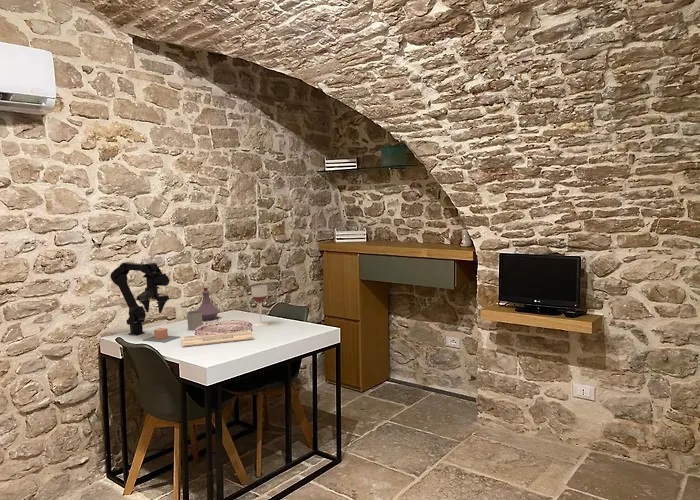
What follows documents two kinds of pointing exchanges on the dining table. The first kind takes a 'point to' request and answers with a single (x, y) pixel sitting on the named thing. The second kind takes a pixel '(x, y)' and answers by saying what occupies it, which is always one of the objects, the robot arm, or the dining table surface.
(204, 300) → the flask
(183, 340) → the wooden board
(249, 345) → the dining table surface
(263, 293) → the wineglass
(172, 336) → the mat
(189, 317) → the cup
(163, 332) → the block
